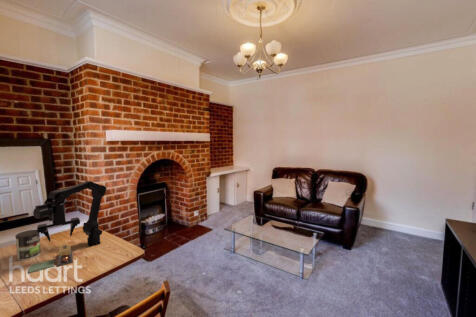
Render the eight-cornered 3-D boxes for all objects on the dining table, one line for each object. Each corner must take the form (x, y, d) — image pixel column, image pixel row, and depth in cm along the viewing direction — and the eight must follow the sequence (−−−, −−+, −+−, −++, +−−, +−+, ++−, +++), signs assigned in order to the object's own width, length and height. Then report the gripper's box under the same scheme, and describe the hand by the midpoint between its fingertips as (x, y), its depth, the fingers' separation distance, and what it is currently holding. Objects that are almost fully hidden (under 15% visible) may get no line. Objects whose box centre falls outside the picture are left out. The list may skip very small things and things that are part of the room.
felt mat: (54, 260, 124) (54, 259, 124) (53, 266, 118) (53, 265, 118) (30, 266, 118) (30, 265, 118) (28, 273, 111) (28, 272, 111)
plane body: (58, 255, 129) (58, 247, 129) (72, 251, 133) (72, 244, 133) (57, 266, 117) (57, 258, 117) (72, 262, 121) (72, 254, 121)
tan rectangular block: (59, 251, 126) (59, 246, 126) (70, 248, 129) (70, 243, 129) (59, 256, 120) (59, 250, 120) (70, 253, 123) (70, 248, 123)
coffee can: (45, 252, 132) (44, 230, 131) (26, 261, 122) (24, 237, 121) (32, 250, 134) (30, 228, 133) (12, 259, 124) (10, 236, 123)
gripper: (77, 205, 135) (78, 229, 137) (36, 212, 122) (38, 239, 124) (79, 210, 127) (81, 235, 128) (36, 218, 114) (38, 246, 116)
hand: (60, 238), depth 124 cm, fingers open, 9 cm apart
